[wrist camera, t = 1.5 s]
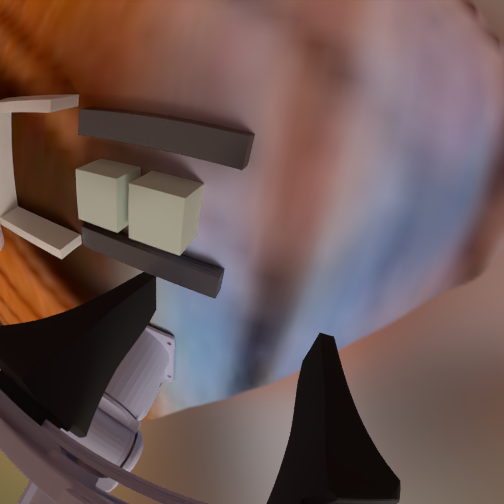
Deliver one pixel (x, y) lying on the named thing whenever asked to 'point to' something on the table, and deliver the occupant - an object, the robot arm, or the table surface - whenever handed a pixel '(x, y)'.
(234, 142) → the channel
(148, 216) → the white small block
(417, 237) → the table surface
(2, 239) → the candle holder
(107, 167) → the chip
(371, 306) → the table surface
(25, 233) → the white u-shaped bracket
